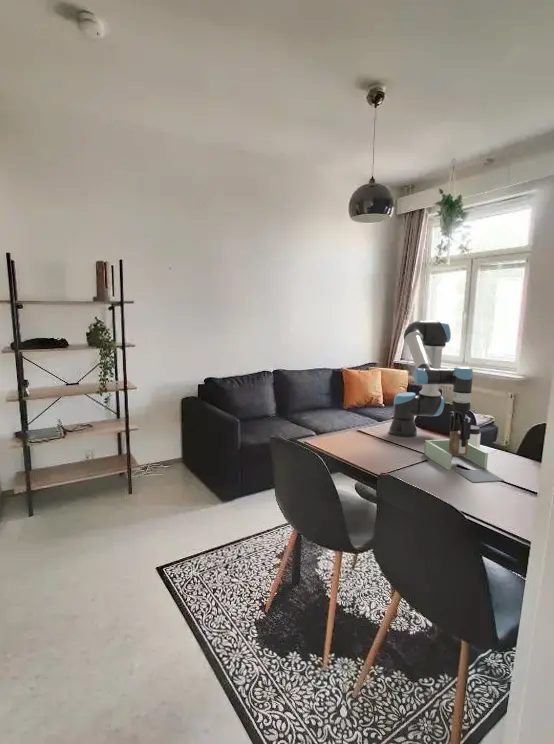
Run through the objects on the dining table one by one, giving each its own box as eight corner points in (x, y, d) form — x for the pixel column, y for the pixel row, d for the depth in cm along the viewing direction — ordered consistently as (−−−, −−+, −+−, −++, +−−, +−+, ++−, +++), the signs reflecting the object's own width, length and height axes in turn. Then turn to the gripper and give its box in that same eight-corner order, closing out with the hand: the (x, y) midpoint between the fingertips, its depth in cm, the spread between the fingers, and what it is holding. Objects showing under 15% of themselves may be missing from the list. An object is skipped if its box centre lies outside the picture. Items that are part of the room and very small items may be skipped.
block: (448, 452, 188) (450, 431, 187) (460, 451, 189) (462, 430, 188) (454, 455, 184) (456, 434, 182) (467, 455, 184) (468, 433, 183)
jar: (456, 448, 208) (458, 425, 207) (469, 446, 211) (471, 424, 209) (469, 453, 200) (471, 430, 198) (482, 452, 202) (484, 428, 201)
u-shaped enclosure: (424, 454, 199) (424, 440, 198) (458, 452, 201) (459, 438, 200) (448, 470, 178) (449, 454, 177) (486, 468, 181) (487, 453, 180)
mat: (455, 471, 176) (455, 470, 176) (485, 470, 178) (485, 469, 178) (472, 482, 164) (472, 481, 164) (504, 481, 166) (504, 480, 166)
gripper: (442, 397, 191) (439, 445, 195) (465, 405, 174) (462, 458, 177) (457, 397, 192) (454, 444, 196) (481, 405, 175) (477, 457, 178)
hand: (457, 450), depth 186 cm, fingers closed on block, 5 cm apart
